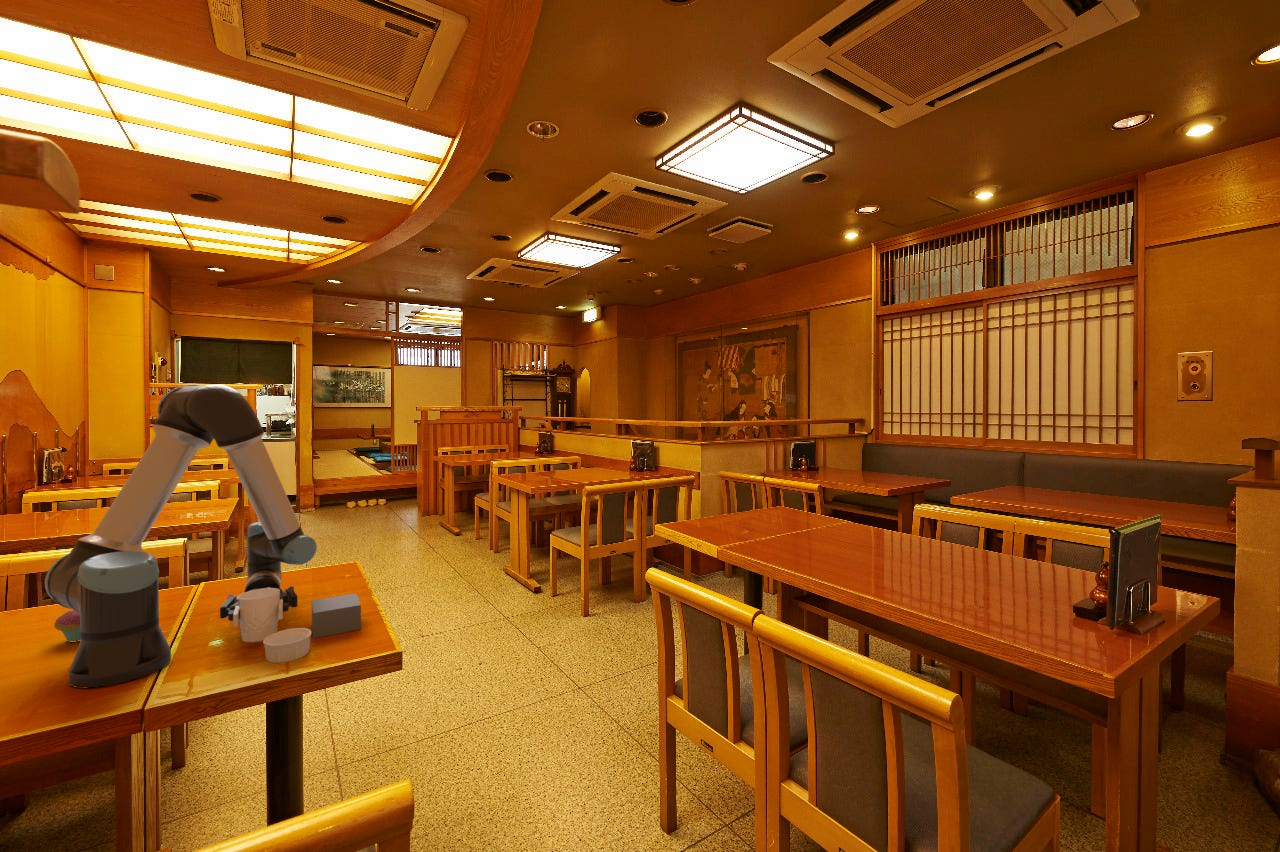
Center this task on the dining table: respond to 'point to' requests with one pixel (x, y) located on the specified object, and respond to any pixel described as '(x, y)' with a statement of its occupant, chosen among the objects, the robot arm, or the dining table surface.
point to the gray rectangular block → (336, 615)
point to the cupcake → (69, 625)
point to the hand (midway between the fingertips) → (258, 617)
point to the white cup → (258, 613)
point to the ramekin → (287, 645)
